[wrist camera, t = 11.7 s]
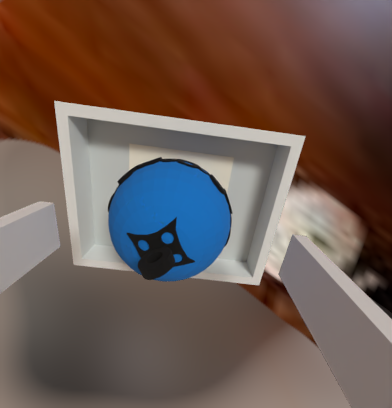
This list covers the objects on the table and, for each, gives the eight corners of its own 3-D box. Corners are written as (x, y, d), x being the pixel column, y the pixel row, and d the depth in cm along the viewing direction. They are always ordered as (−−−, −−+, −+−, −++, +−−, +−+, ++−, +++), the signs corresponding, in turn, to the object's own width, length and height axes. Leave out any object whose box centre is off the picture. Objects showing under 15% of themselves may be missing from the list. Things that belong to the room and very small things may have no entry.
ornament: (207, 138, 16) (217, 139, 6) (234, 226, 18) (271, 321, 9) (116, 172, 17) (5, 216, 7) (154, 250, 19) (110, 357, 10)
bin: (80, 107, 15) (54, 101, 13) (286, 136, 16) (305, 136, 13) (91, 246, 20) (73, 264, 17) (250, 264, 21) (259, 285, 18)
